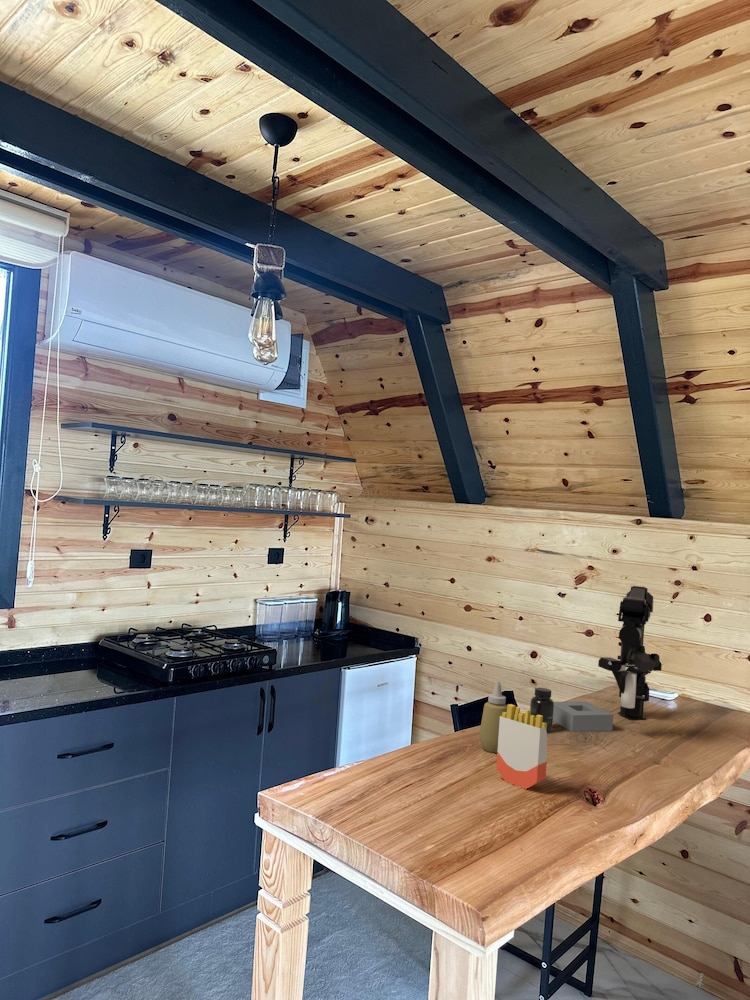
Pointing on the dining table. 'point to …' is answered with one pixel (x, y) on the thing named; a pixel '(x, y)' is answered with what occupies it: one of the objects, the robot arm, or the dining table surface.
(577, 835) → the dining table surface
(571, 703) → the socket block
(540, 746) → the french fries container
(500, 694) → the squeeze bottle
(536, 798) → the dining table surface
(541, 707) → the supplement bottle
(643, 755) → the dining table surface
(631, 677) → the peg
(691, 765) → the dining table surface
